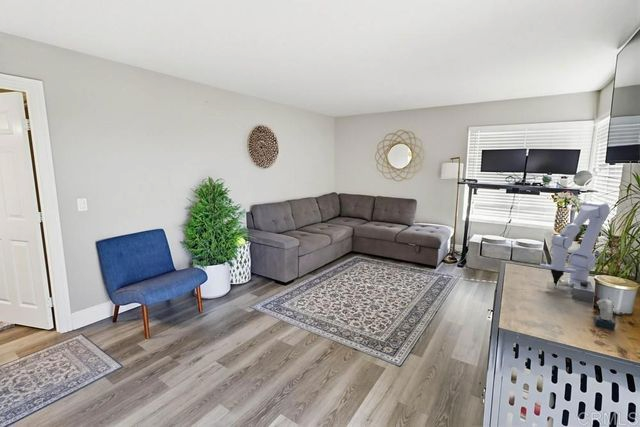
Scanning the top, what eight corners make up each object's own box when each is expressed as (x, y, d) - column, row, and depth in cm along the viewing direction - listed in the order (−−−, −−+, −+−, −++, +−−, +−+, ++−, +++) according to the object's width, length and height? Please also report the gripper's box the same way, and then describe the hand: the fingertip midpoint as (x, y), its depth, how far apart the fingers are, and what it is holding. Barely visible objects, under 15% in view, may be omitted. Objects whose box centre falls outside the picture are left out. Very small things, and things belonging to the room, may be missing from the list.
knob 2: (588, 291, 154) (589, 284, 154) (589, 293, 151) (590, 286, 151) (557, 285, 161) (558, 278, 160) (558, 287, 158) (559, 280, 157)
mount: (569, 288, 160) (571, 275, 159) (588, 292, 156) (590, 278, 155) (572, 298, 148) (574, 284, 147) (592, 303, 144) (595, 288, 143)
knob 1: (576, 293, 151) (577, 286, 151) (577, 296, 148) (578, 288, 148) (546, 287, 158) (547, 280, 157) (546, 289, 155) (547, 282, 154)
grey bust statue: (610, 323, 126) (615, 298, 124) (615, 333, 119) (620, 306, 117) (592, 319, 129) (597, 294, 127) (595, 328, 122) (600, 302, 120)
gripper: (541, 257, 158) (538, 283, 161) (578, 263, 150) (573, 290, 153) (541, 254, 164) (537, 278, 167) (576, 259, 156) (572, 285, 158)
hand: (555, 284), depth 160 cm, fingers closed
